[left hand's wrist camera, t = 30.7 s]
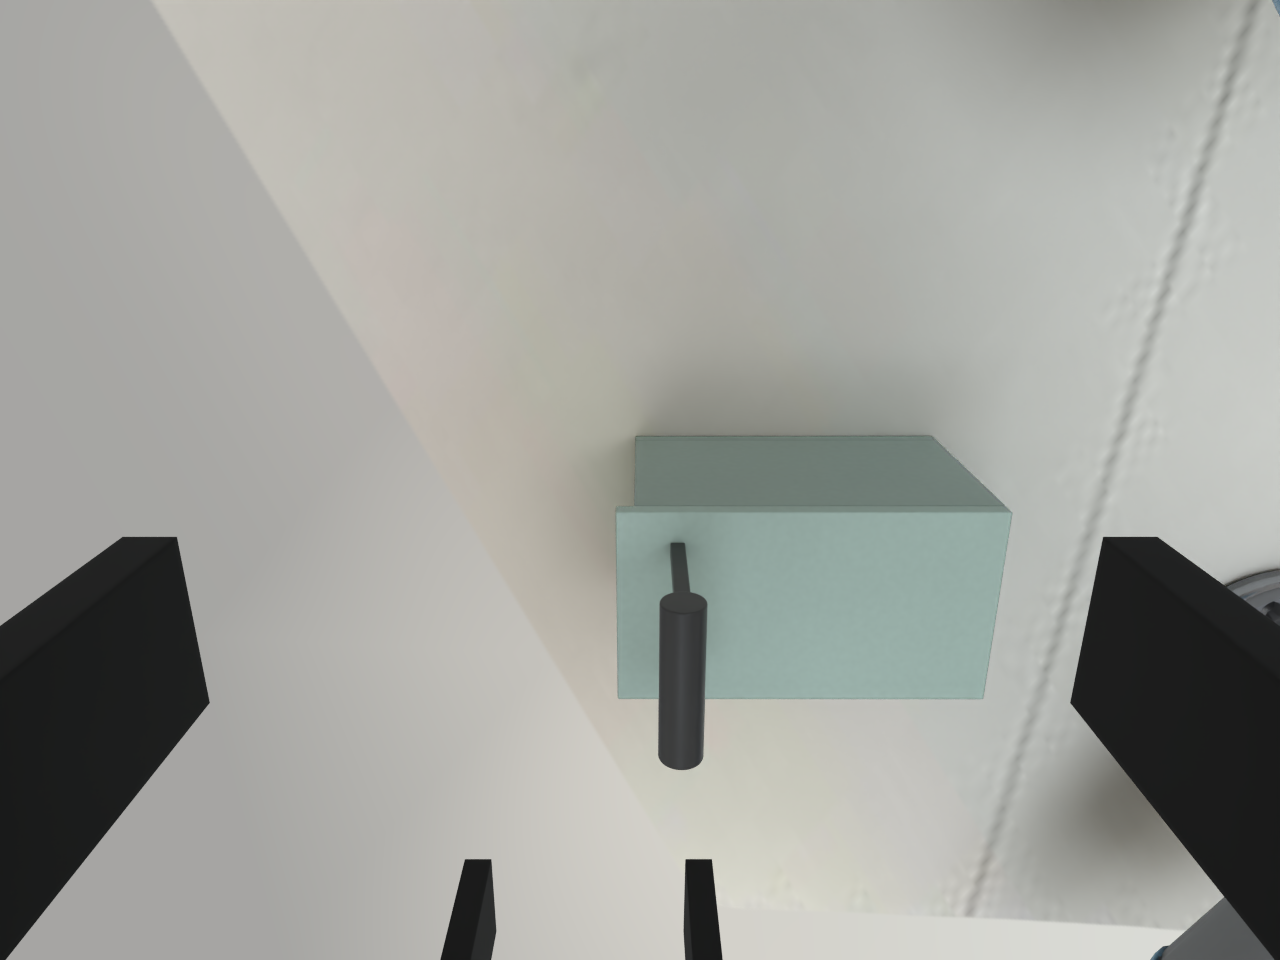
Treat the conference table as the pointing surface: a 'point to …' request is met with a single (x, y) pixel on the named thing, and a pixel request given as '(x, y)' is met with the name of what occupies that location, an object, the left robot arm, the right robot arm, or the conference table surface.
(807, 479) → the chest
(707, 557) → the lid
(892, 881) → the conference table surface
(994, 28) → the conference table surface
